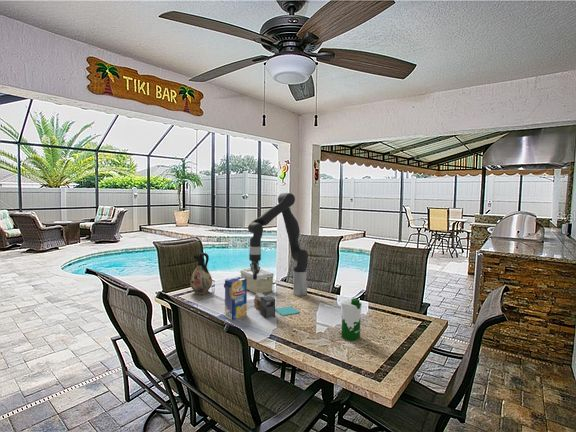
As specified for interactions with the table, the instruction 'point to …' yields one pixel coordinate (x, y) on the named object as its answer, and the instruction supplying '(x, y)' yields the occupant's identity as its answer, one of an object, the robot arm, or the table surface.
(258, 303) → the block
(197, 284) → the ceramic jug
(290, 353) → the table surface
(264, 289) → the storage basket
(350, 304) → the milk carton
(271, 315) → the block
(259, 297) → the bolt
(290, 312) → the mat
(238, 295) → the blue yellow food box
